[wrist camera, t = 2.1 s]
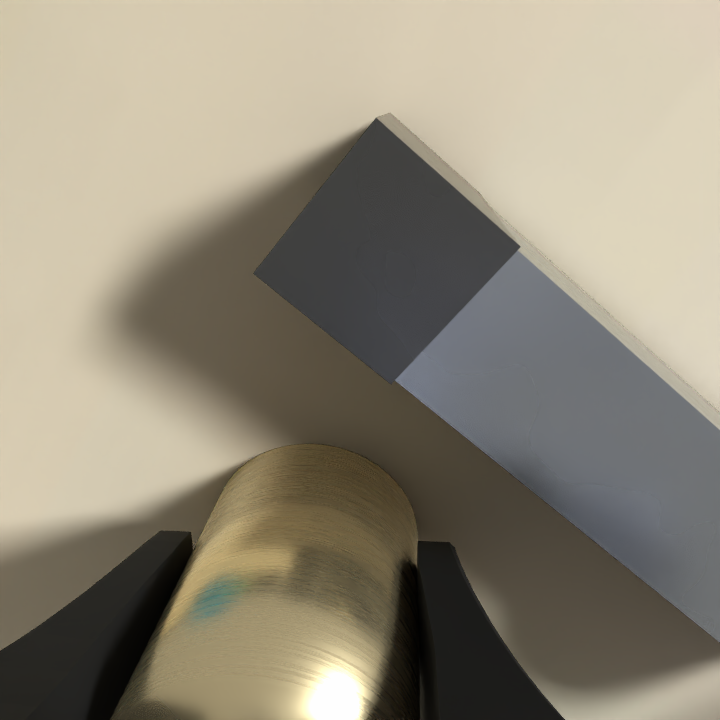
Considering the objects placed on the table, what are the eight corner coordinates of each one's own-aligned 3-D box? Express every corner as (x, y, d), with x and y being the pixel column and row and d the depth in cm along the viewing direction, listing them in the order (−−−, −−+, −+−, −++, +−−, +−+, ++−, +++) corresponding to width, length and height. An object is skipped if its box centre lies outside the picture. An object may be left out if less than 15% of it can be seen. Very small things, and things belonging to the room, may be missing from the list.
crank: (961, 558, 13) (1228, 778, 9) (790, 671, 14) (950, 911, 10) (428, 63, 11) (440, 35, 6) (278, 252, 12) (204, 335, 8)
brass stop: (443, 476, 14) (467, 733, 8) (386, 636, 15) (371, 944, 10) (234, 419, 14) (110, 641, 8) (199, 587, 15) (74, 871, 10)
